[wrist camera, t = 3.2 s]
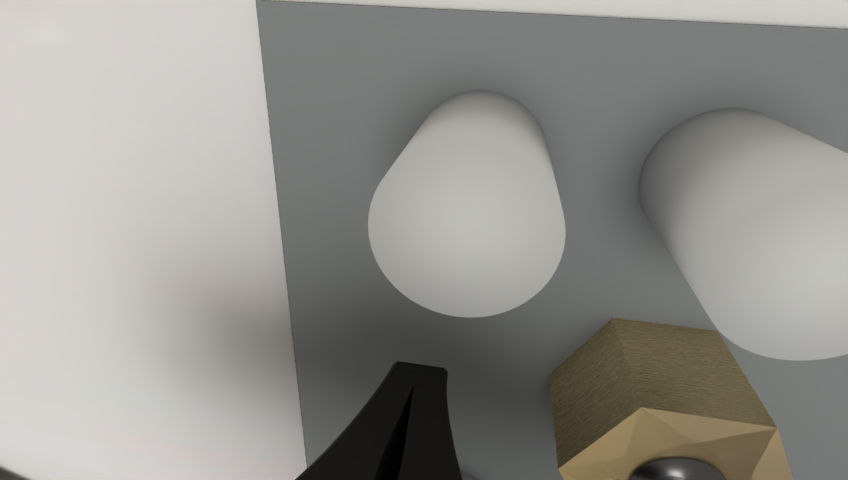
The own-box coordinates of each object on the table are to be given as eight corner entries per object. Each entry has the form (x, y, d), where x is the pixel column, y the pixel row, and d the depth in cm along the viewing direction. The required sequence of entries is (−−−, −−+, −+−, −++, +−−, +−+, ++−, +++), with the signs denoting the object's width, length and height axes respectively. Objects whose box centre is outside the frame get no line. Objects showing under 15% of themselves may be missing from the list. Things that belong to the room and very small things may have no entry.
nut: (714, 457, 14) (764, 572, 11) (537, 429, 14) (542, 531, 11) (772, 338, 12) (851, 441, 9) (562, 311, 12) (576, 400, 9)
